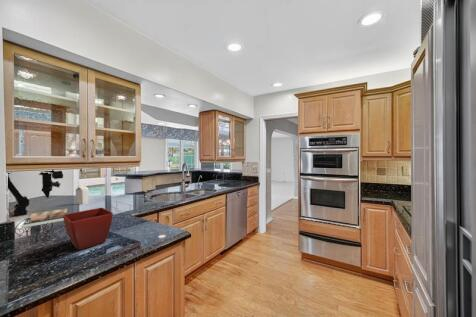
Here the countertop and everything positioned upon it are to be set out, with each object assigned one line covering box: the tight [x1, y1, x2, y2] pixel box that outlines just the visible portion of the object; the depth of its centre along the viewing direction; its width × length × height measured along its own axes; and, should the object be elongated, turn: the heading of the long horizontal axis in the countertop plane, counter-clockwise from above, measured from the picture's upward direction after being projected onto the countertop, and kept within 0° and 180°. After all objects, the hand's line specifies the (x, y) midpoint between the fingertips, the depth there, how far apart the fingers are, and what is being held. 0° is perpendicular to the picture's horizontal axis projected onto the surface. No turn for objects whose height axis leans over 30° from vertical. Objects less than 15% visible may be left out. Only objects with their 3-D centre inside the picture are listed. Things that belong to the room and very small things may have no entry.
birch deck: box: [28, 208, 68, 219], centre depth 165 cm, size 22×14×2 cm, turn 131°
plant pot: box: [62, 207, 114, 251], centre depth 114 cm, size 19×19×17 cm
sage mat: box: [21, 217, 64, 229], centre depth 154 cm, size 26×22×1 cm
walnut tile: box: [48, 212, 65, 220], centre depth 159 cm, size 8×10×2 cm
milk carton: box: [75, 184, 90, 205], centre depth 195 cm, size 7×7×19 cm
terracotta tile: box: [29, 214, 48, 223], centre depth 152 cm, size 8×10×2 cm
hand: (47, 197), depth 173 cm, fingers closed
